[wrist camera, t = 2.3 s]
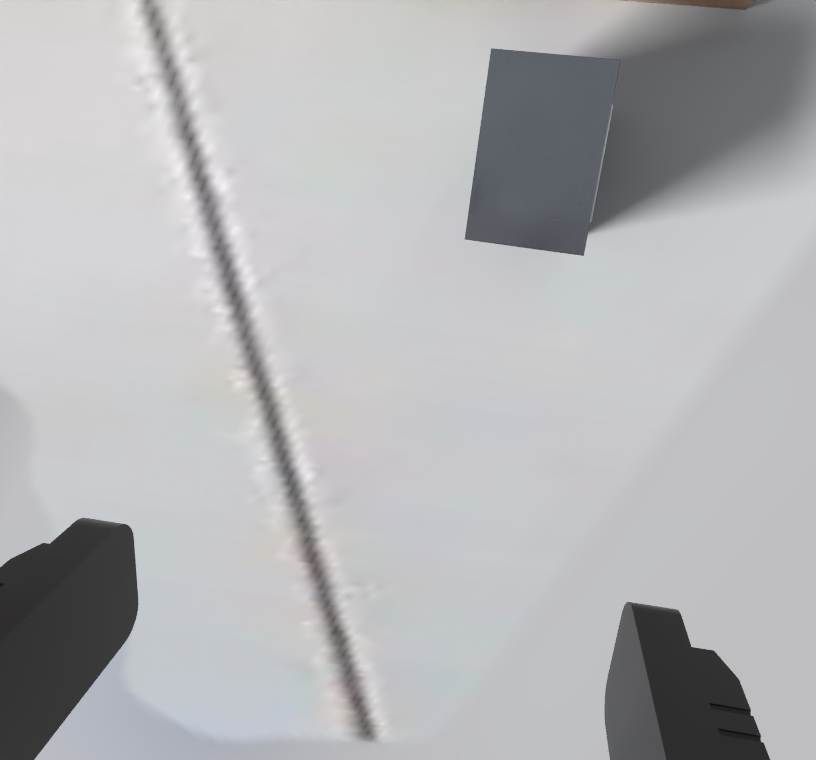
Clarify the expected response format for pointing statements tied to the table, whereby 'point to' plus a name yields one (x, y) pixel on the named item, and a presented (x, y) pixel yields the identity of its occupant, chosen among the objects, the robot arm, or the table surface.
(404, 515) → the table surface
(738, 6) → the pin tray
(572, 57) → the block
